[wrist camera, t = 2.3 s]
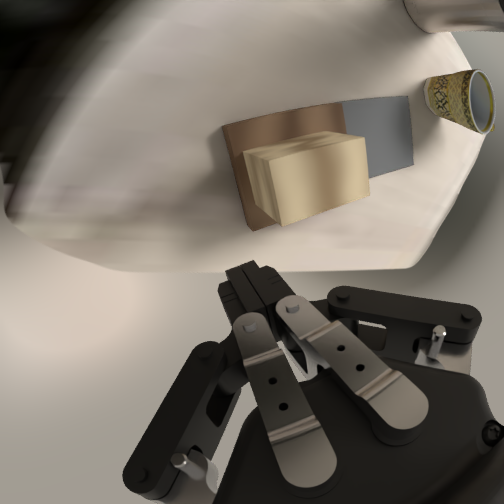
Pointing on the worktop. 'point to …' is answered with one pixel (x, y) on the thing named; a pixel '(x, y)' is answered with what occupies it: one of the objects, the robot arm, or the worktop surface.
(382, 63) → the worktop surface
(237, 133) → the brown flat slab
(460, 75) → the ceramic cup
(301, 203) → the block
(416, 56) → the worktop surface
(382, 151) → the mat
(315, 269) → the worktop surface
